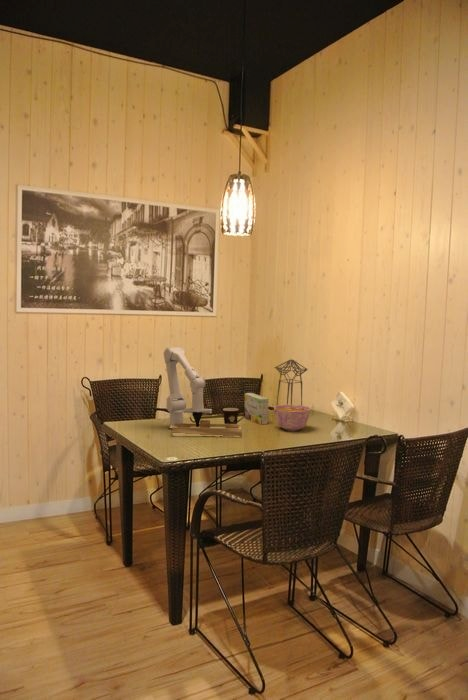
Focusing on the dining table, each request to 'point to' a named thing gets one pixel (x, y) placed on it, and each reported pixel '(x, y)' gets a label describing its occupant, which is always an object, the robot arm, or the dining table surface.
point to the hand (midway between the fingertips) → (197, 426)
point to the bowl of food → (292, 416)
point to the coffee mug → (231, 415)
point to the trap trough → (208, 429)
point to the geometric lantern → (288, 376)
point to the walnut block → (205, 424)
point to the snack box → (256, 408)
